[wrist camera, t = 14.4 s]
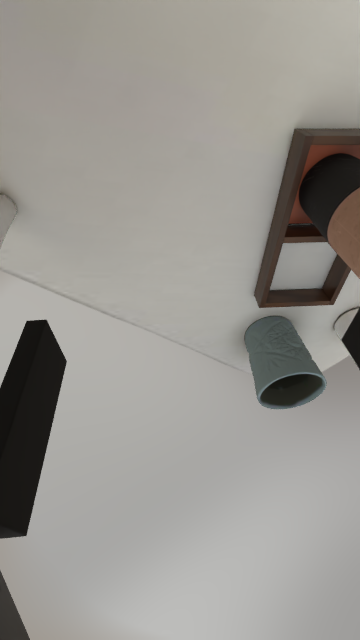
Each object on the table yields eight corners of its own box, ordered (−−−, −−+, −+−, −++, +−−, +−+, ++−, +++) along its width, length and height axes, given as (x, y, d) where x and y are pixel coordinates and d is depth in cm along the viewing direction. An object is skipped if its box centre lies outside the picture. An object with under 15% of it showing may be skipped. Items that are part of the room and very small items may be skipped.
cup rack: (254, 295, 46) (259, 307, 43) (294, 128, 30) (305, 135, 28) (325, 292, 46) (333, 304, 44) (400, 128, 31) (418, 135, 29)
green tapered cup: (290, 304, 47) (322, 364, 39) (302, 340, 54) (331, 398, 45) (232, 327, 50) (249, 388, 42) (249, 358, 57) (267, 416, 48)
